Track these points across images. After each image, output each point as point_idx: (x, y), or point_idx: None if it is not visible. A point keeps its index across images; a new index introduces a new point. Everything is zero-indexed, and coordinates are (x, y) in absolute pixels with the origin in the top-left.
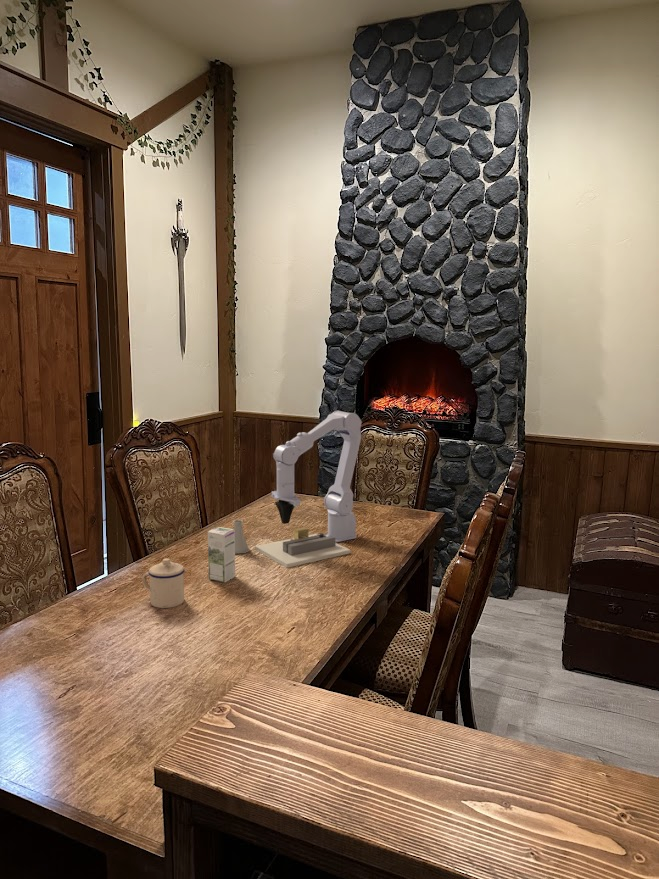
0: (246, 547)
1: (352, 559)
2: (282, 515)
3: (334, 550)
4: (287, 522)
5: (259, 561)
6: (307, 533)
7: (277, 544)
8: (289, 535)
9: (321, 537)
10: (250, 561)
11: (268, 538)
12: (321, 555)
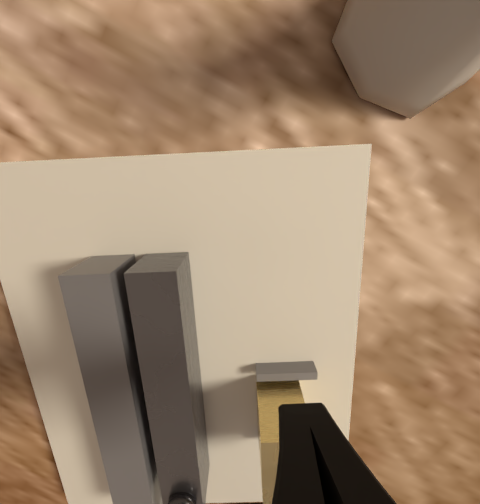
0: (367, 62)
1: (5, 463)
2: (297, 497)
3: (86, 457)
4: (279, 445)
5: (150, 66)
6: (260, 467)
7: (312, 281)
8: (440, 408)
9: (162, 490)
10: (176, 7)
11: (477, 305)
12: (39, 382)
